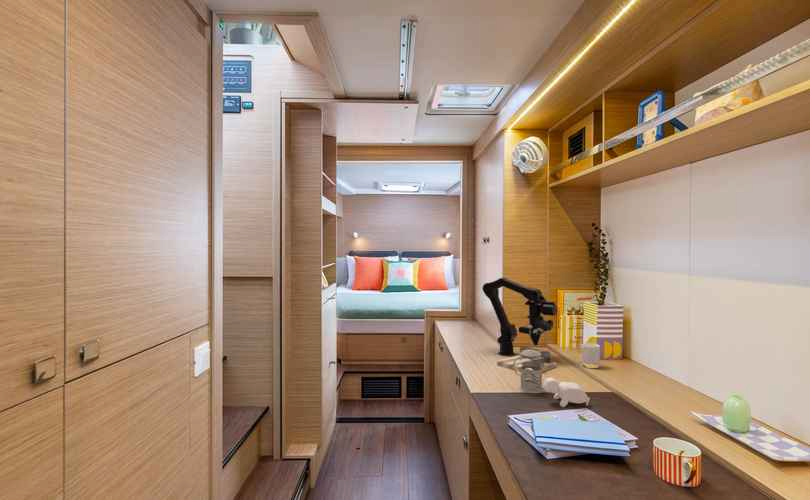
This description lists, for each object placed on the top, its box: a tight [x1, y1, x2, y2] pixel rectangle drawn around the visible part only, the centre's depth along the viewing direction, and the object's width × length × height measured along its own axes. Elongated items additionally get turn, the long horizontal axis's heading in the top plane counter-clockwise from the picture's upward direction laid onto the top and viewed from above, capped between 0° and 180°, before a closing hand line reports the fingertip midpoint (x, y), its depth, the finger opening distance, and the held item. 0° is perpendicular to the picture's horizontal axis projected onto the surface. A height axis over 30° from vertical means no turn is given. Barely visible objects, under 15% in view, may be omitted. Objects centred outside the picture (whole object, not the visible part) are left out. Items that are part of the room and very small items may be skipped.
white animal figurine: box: [543, 377, 590, 408], centre depth 138 cm, size 9×8×15 cm
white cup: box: [580, 342, 601, 365], centre depth 181 cm, size 8×8×10 cm
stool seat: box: [496, 354, 558, 373], centre depth 184 cm, size 20×18×6 cm
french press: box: [513, 324, 546, 394], centre depth 153 cm, size 10×12×25 cm
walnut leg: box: [519, 346, 551, 362], centre depth 188 cm, size 16×4×4 cm, turn 34°
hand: (535, 345), depth 196 cm, fingers closed
